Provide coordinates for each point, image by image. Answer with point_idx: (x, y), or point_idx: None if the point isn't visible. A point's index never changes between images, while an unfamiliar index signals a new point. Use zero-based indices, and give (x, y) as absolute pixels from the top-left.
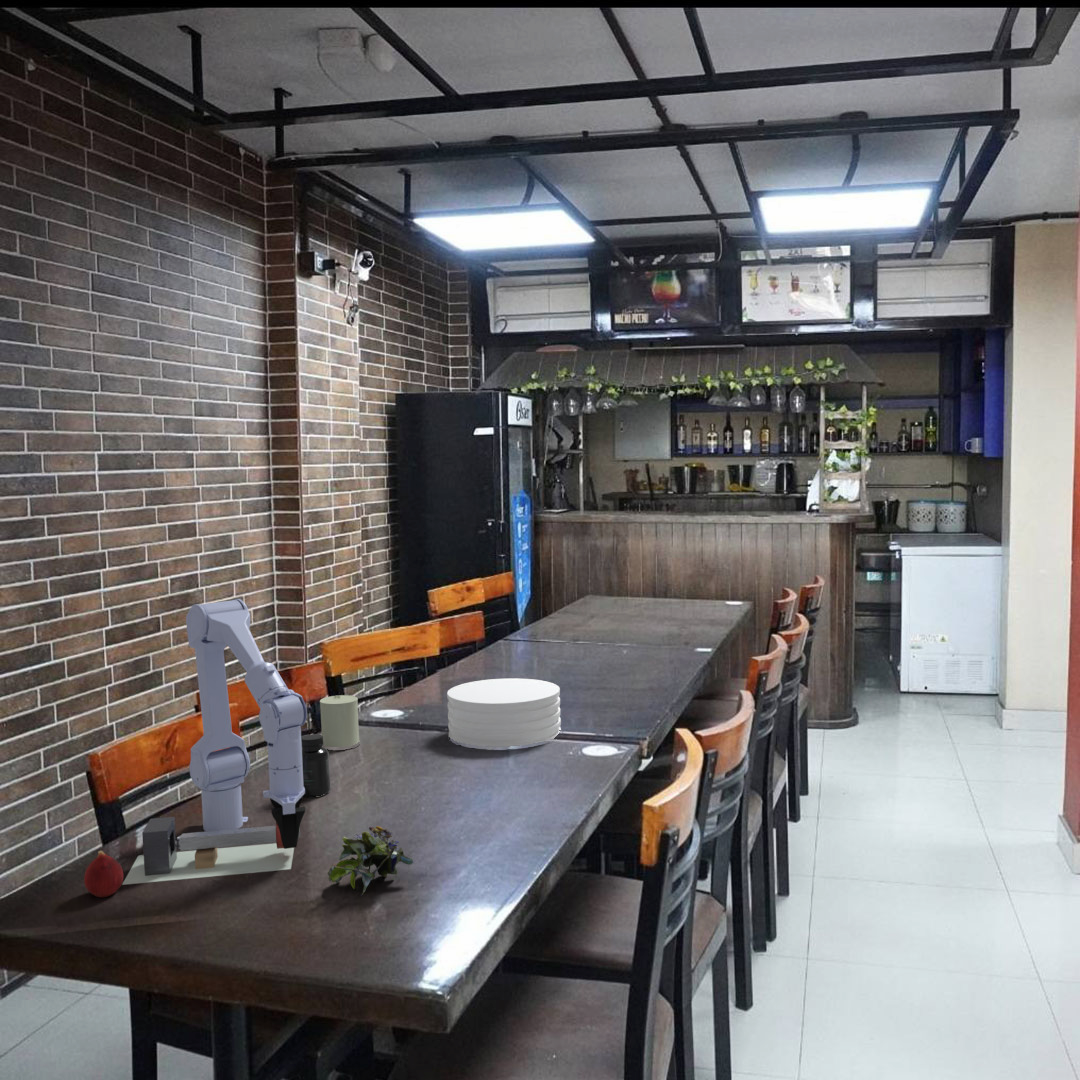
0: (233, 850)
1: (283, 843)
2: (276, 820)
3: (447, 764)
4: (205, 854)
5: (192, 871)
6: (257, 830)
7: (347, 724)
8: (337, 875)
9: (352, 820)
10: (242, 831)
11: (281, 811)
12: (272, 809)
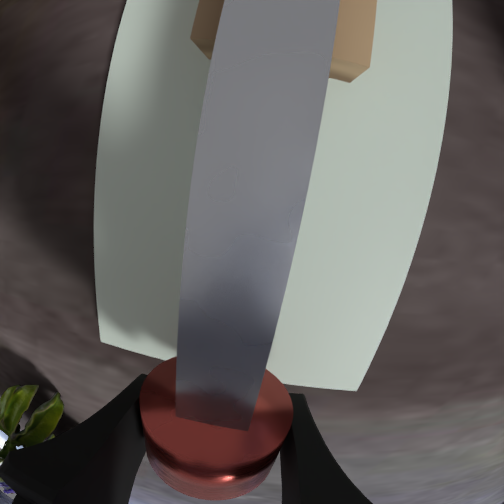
0: (396, 162)
1: (129, 387)
2: (30, 448)
3: (501, 499)
4: (200, 4)
5: None
6: (196, 338)
7: None
8: (7, 398)
9: (431, 464)
10: (212, 238)
11: (20, 494)
12: (38, 497)
